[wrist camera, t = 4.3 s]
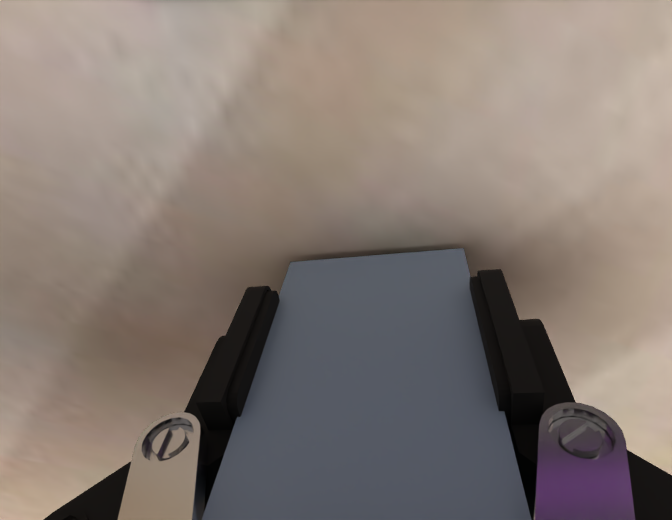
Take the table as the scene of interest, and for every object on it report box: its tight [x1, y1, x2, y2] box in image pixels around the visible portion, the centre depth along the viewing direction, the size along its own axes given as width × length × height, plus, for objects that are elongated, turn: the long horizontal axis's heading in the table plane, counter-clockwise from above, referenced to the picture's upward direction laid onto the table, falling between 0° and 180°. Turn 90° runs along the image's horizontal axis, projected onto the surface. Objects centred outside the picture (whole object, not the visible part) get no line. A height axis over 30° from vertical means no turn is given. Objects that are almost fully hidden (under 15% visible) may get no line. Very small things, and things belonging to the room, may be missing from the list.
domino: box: [202, 248, 531, 520], centre depth 10 cm, size 2×5×10 cm, turn 99°
